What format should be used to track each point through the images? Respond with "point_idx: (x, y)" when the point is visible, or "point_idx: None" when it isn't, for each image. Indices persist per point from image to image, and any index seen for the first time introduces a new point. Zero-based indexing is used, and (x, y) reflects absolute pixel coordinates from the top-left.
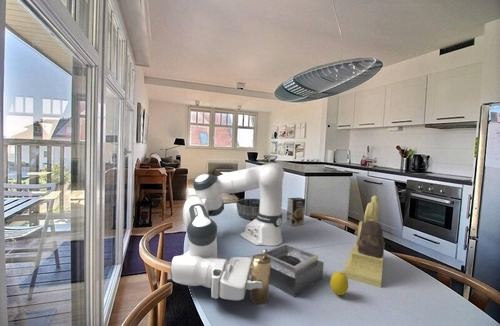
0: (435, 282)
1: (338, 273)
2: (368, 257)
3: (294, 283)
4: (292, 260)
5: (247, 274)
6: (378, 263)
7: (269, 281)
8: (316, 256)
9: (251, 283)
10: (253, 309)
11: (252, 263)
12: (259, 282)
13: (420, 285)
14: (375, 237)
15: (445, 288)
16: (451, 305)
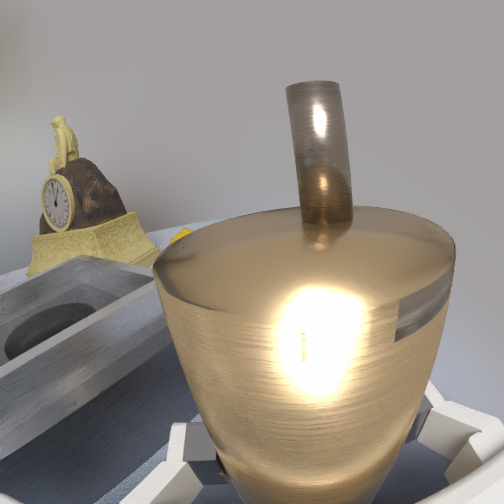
0: (149, 233)
1: (188, 233)
2: (118, 219)
3: None
4: (54, 320)
5: (427, 500)
6: (133, 222)
7: (129, 463)
8: (86, 255)
9: (483, 419)
10: (423, 483)
11: (413, 378)
12: (431, 384)
13: (156, 238)
14: (104, 178)
15: (164, 229)
16: (205, 226)
